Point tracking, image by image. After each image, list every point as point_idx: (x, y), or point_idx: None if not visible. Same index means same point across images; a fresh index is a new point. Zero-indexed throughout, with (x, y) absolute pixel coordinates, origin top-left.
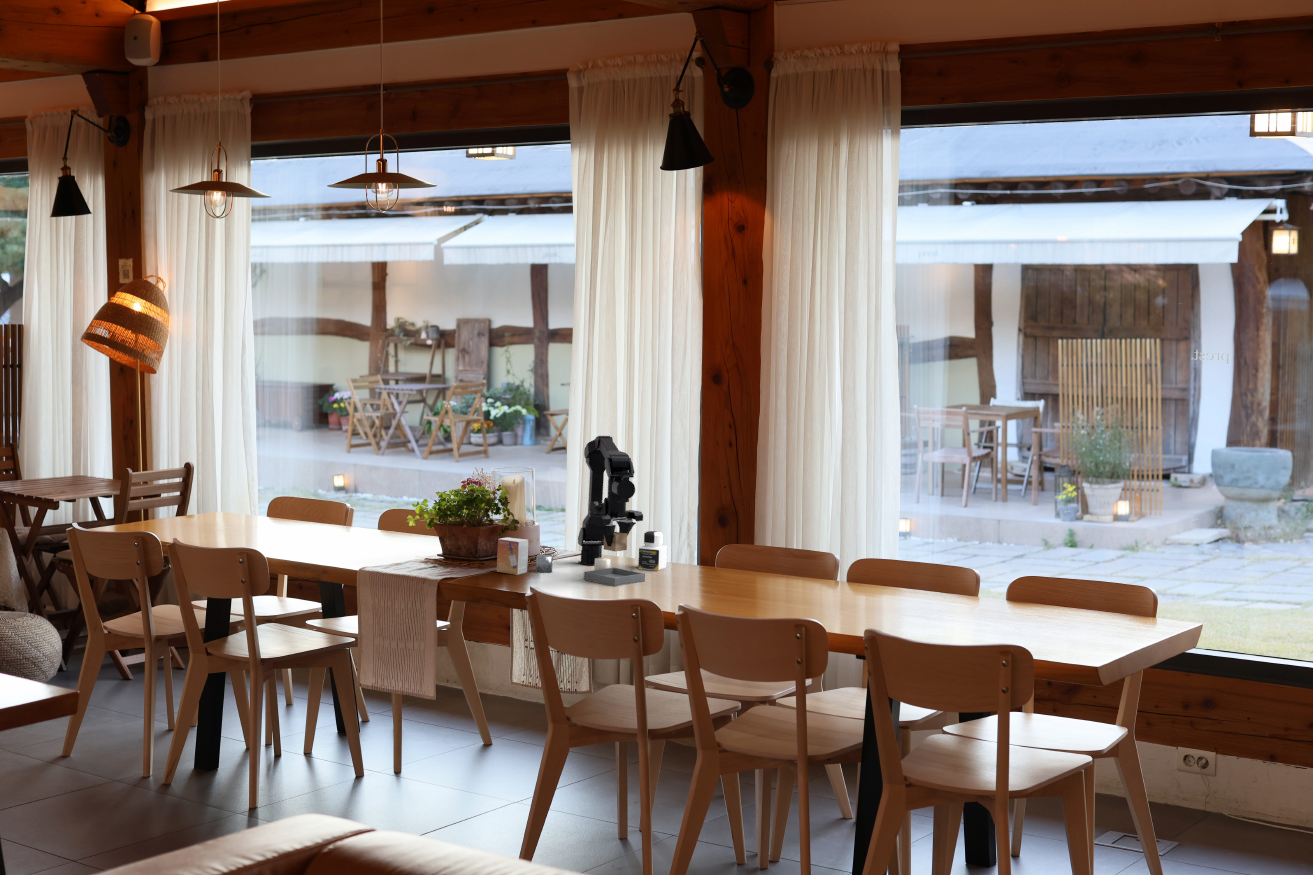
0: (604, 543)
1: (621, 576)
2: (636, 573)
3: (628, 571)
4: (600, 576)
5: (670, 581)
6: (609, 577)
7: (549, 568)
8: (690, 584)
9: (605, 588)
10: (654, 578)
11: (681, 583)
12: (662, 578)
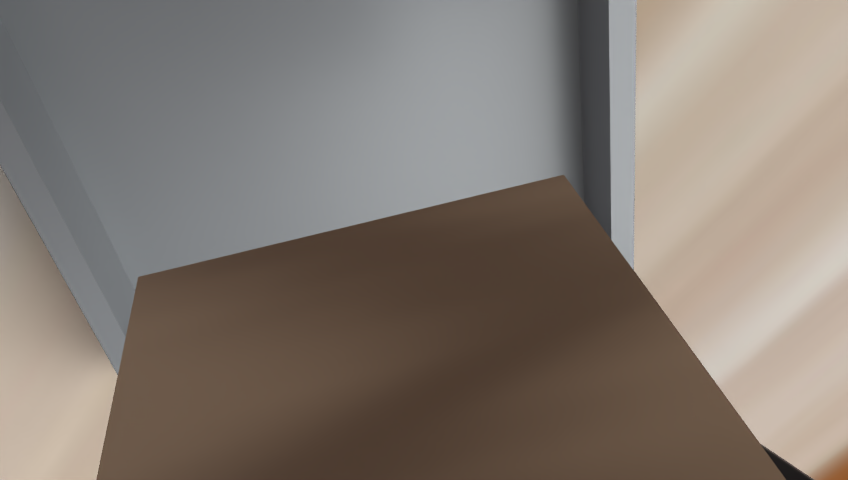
0: (125, 414)
1: (500, 32)
2: (604, 210)
3: (604, 85)
4: (44, 225)
5: (772, 329)
6: (111, 361)
7: None
8: (782, 450)
9: (3, 418)
10: (787, 171)
11: (766, 410)
12: (842, 199)
